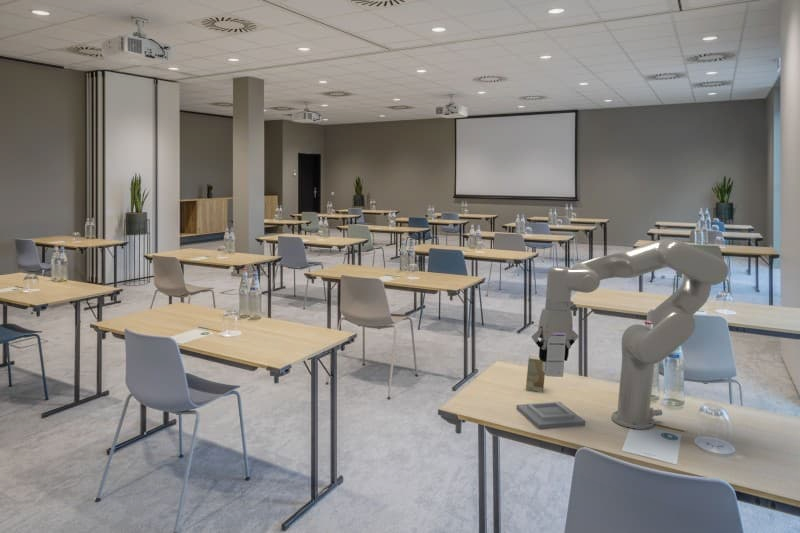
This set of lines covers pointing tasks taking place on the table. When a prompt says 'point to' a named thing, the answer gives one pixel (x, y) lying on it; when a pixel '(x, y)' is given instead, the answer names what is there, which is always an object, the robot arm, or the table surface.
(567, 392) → the table surface
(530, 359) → the skincare box
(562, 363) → the syrup box
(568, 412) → the socket plate
